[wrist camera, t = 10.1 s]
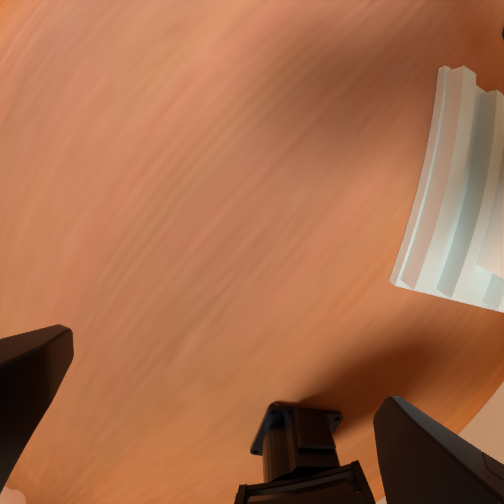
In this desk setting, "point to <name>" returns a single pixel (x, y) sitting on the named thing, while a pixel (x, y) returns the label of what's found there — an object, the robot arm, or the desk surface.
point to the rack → (455, 195)
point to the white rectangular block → (495, 233)
